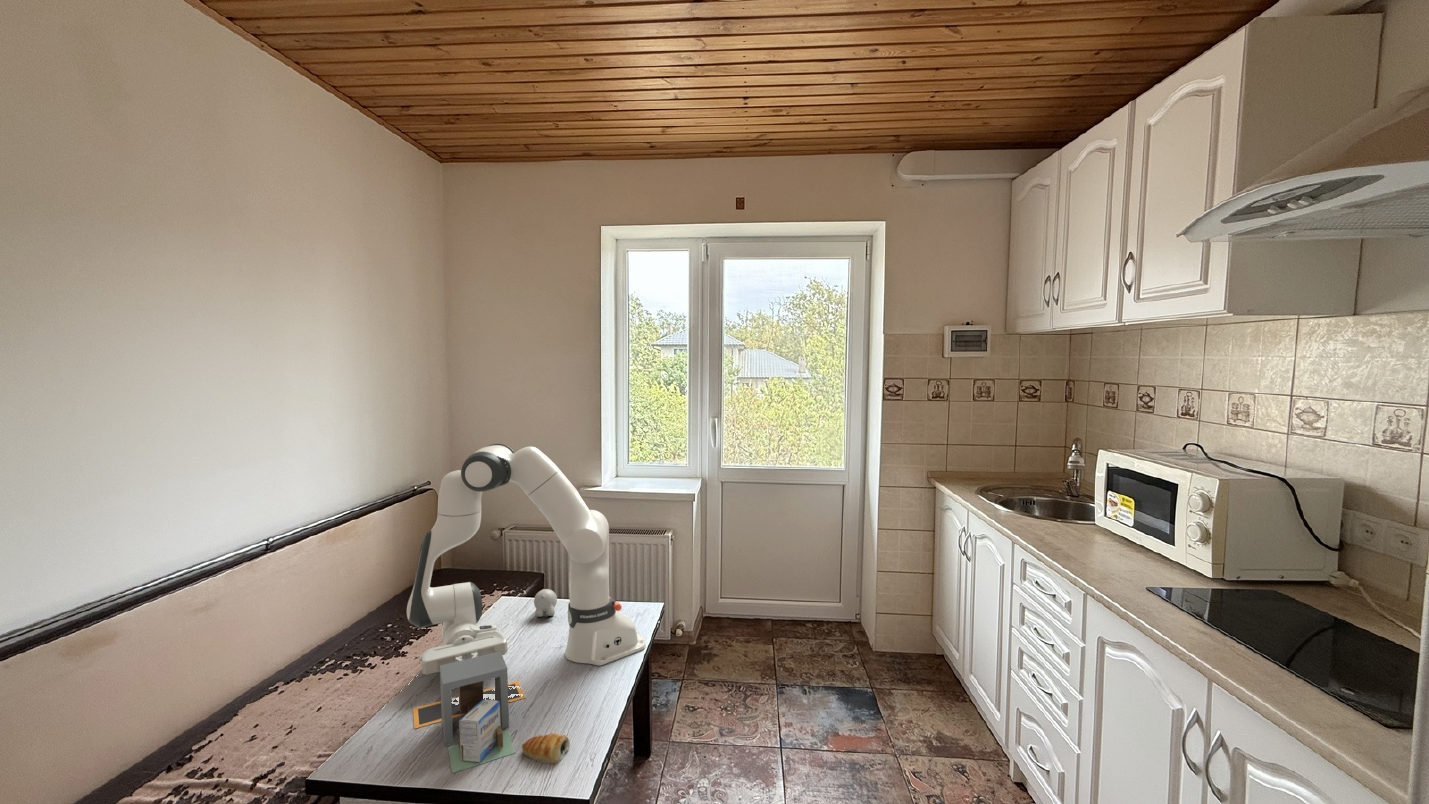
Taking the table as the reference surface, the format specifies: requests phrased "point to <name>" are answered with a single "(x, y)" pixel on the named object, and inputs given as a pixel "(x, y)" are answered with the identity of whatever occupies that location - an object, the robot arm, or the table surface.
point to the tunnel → (470, 674)
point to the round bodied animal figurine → (545, 603)
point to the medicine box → (479, 730)
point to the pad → (492, 755)
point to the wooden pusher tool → (468, 701)
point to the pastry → (546, 748)
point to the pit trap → (454, 707)
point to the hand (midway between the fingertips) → (468, 666)
